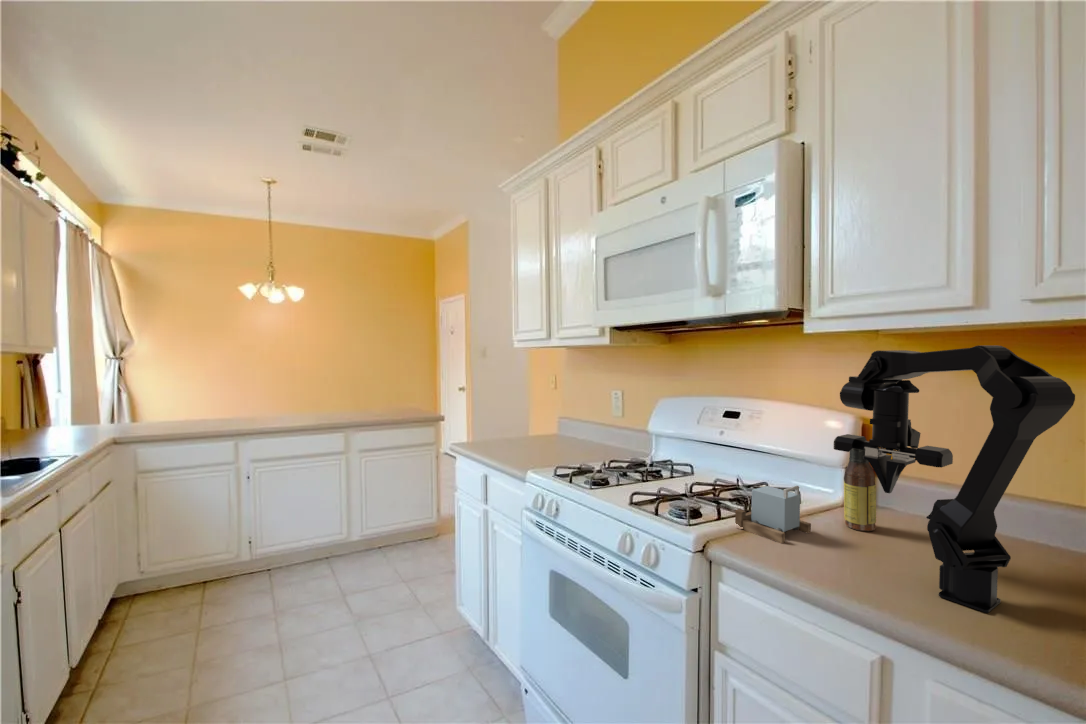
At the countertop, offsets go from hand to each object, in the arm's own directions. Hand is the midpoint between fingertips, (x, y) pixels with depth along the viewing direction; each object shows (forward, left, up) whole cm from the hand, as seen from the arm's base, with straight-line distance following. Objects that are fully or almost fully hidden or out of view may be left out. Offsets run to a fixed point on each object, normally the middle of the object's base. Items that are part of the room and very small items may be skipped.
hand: (888, 492), depth 99 cm
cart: (+21, +5, -13) cm, 25 cm away
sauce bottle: (+11, -13, -13) cm, 21 cm away
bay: (+21, +5, -13) cm, 26 cm away
